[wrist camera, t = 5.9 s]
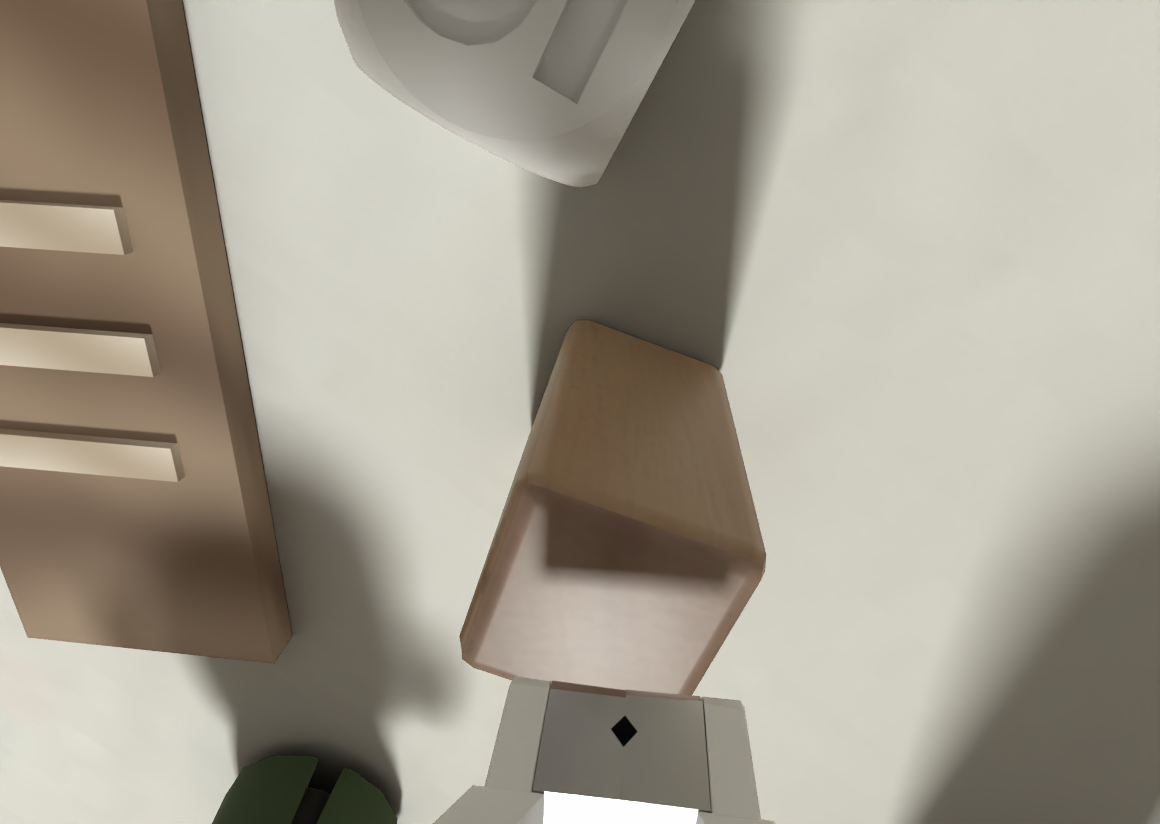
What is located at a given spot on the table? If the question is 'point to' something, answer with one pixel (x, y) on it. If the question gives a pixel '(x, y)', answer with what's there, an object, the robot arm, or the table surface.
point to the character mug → (300, 796)
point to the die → (519, 71)
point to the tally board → (123, 348)
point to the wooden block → (620, 526)
